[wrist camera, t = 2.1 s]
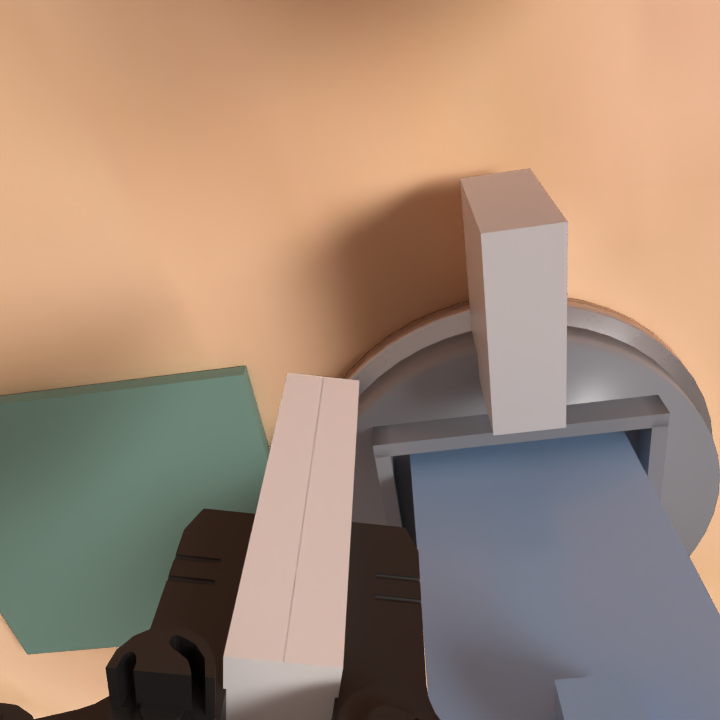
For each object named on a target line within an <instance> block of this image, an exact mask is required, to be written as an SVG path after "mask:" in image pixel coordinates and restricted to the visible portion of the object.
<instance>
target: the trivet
mask: <svg viewBox="0 0 720 720" xmlns="http://www.w3.org/2000/svg"><path fill="white" fill-rule="evenodd" d="M269 453H270V450H269V446H268V443H267V439H266V436H265V432H264V428H263V425H262V421H261V418H260V414H259V411H258V407H257V404H256V400H255V396H254V393H253V389H252V386H251V382H250V379H249V375H248V372H247V368H246V366H240V367H232V368H223V369H215V370H207V371H199V372H191V373H183V374H175V375H166V376H158V377H150V378H142V379H134V380H126V381H118V382H110V383H101V384H93V385H85V386H77V387H69V388H61V389H53V390H45V391H36V392H28V393H20V394H12V395H4V396H0V613H1V614H2V616H3V618H4V619H5V621H6V622H7V624H8V625H9V627H10V628H11V630H12V631H13V633H14V635H15V636H16V638H17V639H18V641H19V642H20V644H21V645H22V647H23V648H24V650H25V652H26V653H27V654H38V653H50V652H62V651H73V650H85V649H97V648H108V647H120V646H122V645H123V644H124V643H125V642H127V641H128V640H129V639H130V638H131V637H133V636H134V635H137V634H139V633H142V632H144V631H147V630H149V629H150V628H151V625H152V622H153V619H154V616H155V613H156V610H157V607H158V604H159V601H160V598H161V595H162V593H163V590H164V587H165V584H166V581H168V575H169V572H170V569H171V566H172V563H173V560H175V556H176V552H177V549H178V546H179V543H180V540H181V537H182V534H183V531H184V529H185V528H186V527H187V526H188V525H189V523H190V522H191V521H192V520H193V519H194V518H195V517H196V516H197V515H198V514H199V513H200V512H201V511H202V510H203V509H204V508H205V509H215V510H225V511H234V512H244V513H254V514H256V510H257V506H258V501H259V497H260V492H261V488H262V483H263V479H264V475H265V470H266V466H267V461H268V457H269Z"/></svg>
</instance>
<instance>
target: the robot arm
mask: <svg viewBox="0 0 720 720" xmlns="http://www.w3.org/2000/svg"><path fill="white" fill-rule="evenodd" d="M358 397H359V380H350V379H341V378H332V377H323V376H314V375H305V374H296V373H287V377H286V382H285V386H284V391H283V395H282V400H281V404H280V408H279V413H278V417H277V422H276V426H275V430H274V435H273V439H272V444H271V448H270V453H269V457H268V461H267V466H266V470H265V475H264V479H263V483H262V488H261V492H260V497H259V501H258V506H257V510H256V514H254V513H244V512H234V511H225V510H215V509H205V508H204V509H203V510H202V511H201V512H200V513H199V514H198V515H197V516H196V517H195V518H194V519H193V520H192V521H191V522H190V523H189V525H188V526H187V527H186V528H185V529H184V531H183V534H182V537H181V540H180V543H179V546H178V549H177V552H176V556H175V560H173V563H172V566H171V569H170V572H169V575H168V581H166V584H165V587H164V590H163V593H162V595H161V598H160V601H159V604H158V607H157V610H156V613H155V616H154V619H153V622H152V625H151V628H150V629H149V630H147V631H144V632H142V633H139V634H137V635H134V636H133V637H131V638H130V639H129V640H128V641H127V642H125V643H124V644H123V645H122V646H120V647H119V648H118V649H117V650H116V652H115V653H114V655H113V656H112V658H111V660H110V661H109V663H108V665H107V666H106V674H107V681H108V689H109V696H108V697H106V698H105V699H103V700H101V701H99V702H97V703H96V704H93V705H90V706H87V707H84V708H81V709H78V710H74V711H69V712H65V713H60V714H56V715H51V716H47V717H42V718H38V719H33V717H32V715H31V714H29V713H28V712H26V711H25V710H23V709H22V708H20V707H19V706H17V705H13V704H5V703H0V720H440V718H439V717H438V716H437V714H436V713H435V711H434V709H433V707H432V705H431V702H430V700H429V698H428V692H427V687H426V675H425V657H424V639H423V622H422V604H421V586H420V568H419V551H418V549H417V548H416V546H415V544H414V542H413V540H412V538H411V537H410V535H409V533H408V531H407V529H406V527H396V526H386V525H377V524H367V523H357V522H351V520H352V502H353V485H354V467H355V450H356V432H357V415H358Z"/></svg>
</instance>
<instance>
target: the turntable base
mask: <svg viewBox="0 0 720 720" xmlns="http://www.w3.org/2000/svg"><path fill="white" fill-rule="evenodd" d="M567 326H572V327H578V328H584V329H588V330H591V331H595V332H598V333H601V334H605V335H608V336H611V337H613V338H616V339H618V340H620V341H622V342H624V343H627V344H629V345H631V346H633V347H635V348H636V349H638V350H639V351H641V352H643V353H644V354H646V355H647V356H649V357H650V358H652V359H653V360H655V361H656V362H657V363H658V364H659V365H660V366H661V367H662V368H664V369H665V370H666V371H667V372H668V373H669V374H670V375H671V376H672V377H673V378H674V380H675V381H676V382H677V383H678V385H679V386H680V387H681V388H682V390H683V391H684V392H685V394H686V395H687V397H688V398H689V399H690V401H691V402H692V404H693V405H694V407H695V408H696V409H697V411H698V412H699V414H700V415H701V417H702V418H703V420H704V422H705V424H706V426H707V428H708V429H709V431H710V433H711V435H712V428H711V419H710V416H709V412H708V409H707V406H706V403H705V399H704V397H703V395H702V393H701V391H700V389H699V388H698V386H697V384H696V382H695V380H694V378H693V377H692V376H691V374H690V373H689V372H688V370H687V369H686V368H685V366H684V365H683V364H682V362H681V361H680V360H679V359H678V357H677V356H676V355H675V353H674V352H673V351H672V350H671V349H670V348H669V347H668V346H667V345H666V344H665V343H664V342H663V341H662V340H661V339H659V338H658V337H657V336H656V335H655V334H654V333H653V332H651V331H650V330H648V329H647V328H645V327H644V326H642V325H640V324H639V323H637V322H636V321H634V320H633V319H631V318H629V317H626V316H624V315H622V314H620V313H618V312H616V311H614V310H611V309H609V308H606V307H603V306H600V305H596V304H593V303H590V302H587V301H583V300H578V299H572V298H567ZM468 331H471V318H470V305H469V301H467V302H464V303H461V304H458V305H454V306H451V307H448V308H445V309H441V310H438V311H436V312H434V313H432V314H429V315H427V316H425V317H422V318H420V319H418V320H416V321H413V322H412V323H410V324H408V325H406V326H405V327H403V328H401V329H400V330H398V331H396V332H395V333H393V334H391V335H390V336H388V337H387V338H386V339H384V340H383V341H382V342H380V343H379V344H378V345H377V346H375V347H374V348H373V349H371V350H370V351H369V352H368V353H367V354H366V355H365V356H364V357H363V358H362V359H361V360H360V361H359V362H358V363H357V364H356V365H355V366H354V367H353V368H352V369H351V370H350V371H349V372H348V374H347V375H346V376H345V378H344V379H350V380H359V396H360V395H361V394H362V393H363V392H364V391H365V390H366V389H367V388H368V387H369V386H370V385H371V384H372V383H373V382H374V381H375V380H376V379H377V378H378V377H379V376H381V375H382V374H383V373H385V372H386V371H387V370H389V369H390V368H391V367H393V366H394V365H395V364H397V363H398V362H400V361H401V360H403V359H405V358H407V357H408V356H410V355H412V354H413V353H415V352H417V351H419V350H420V349H422V348H425V347H427V346H429V345H432V344H434V343H436V342H439V341H441V340H443V339H446V338H448V337H452V336H455V335H458V334H462V333H465V332H468ZM712 438H713V437H712Z"/></svg>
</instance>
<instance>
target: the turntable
mask: <svg viewBox="0 0 720 720" xmlns="http://www.w3.org/2000/svg"><path fill="white" fill-rule="evenodd" d="M460 186H461V199H462V212H463V226H464V239H465V252H466V265H467V278H468V292H469V305H470V318H471V331H468V332H465V333H462V334H458V335H455V336H452V337H448V338H446V339H443V340H441V341H439V342H436V343H434V344H432V345H429V346H427V347H425V348H422V349H420V350H419V351H417V352H415V353H413V354H412V355H410V356H408V357H407V358H405V359H403V360H401V361H400V362H398V363H397V364H395V365H394V366H393V367H391V368H390V369H389V370H387V371H386V372H385V373H383V374H382V375H381V376H379V377H378V378H377V379H376V380H375V381H374V382H373V383H372V384H371V385H370V386H369V387H368V388H367V389H366V390H365V391H364V392H363V393H362V394H361V395H360V396H359V397H358V415H357V432H356V450H355V467H354V485H353V502H352V520H351V522H357V523H367V524H377V525H386V526H396V527H406V529H407V531H408V533H409V535H410V537H411V538H412V540H413V542H414V544H415V546H416V548H417V541H416V528H415V515H414V502H413V489H412V476H411V463H410V454H416V453H425V452H434V451H443V450H453V449H462V448H471V447H480V446H489V445H499V444H508V443H517V442H526V441H536V440H545V439H554V438H563V437H572V436H582V435H591V434H600V433H609V432H619V431H624V432H625V434H626V436H627V438H628V440H629V442H630V444H631V446H632V447H633V449H634V451H635V453H636V455H637V457H638V459H639V461H640V463H641V465H642V467H643V469H644V470H645V472H646V474H647V476H648V478H649V480H650V482H651V484H652V486H653V488H654V490H655V492H656V494H657V495H658V497H659V499H660V501H661V503H662V505H663V507H664V509H665V511H666V513H667V515H668V517H669V518H670V520H671V522H672V524H673V526H674V528H675V530H676V532H677V534H678V536H679V538H680V540H681V542H682V543H683V545H684V547H685V549H686V551H687V553H688V555H689V556H690V555H691V553H692V552H693V551H694V550H695V548H696V547H697V545H698V543H699V542H700V540H701V539H702V537H703V535H704V534H705V532H706V530H707V528H708V525H709V523H710V521H711V519H712V516H713V514H714V510H715V507H716V503H717V499H718V495H719V482H720V469H719V461H718V454H717V451H716V447H715V444H714V441H713V438H712V435H711V433H710V431H709V429H708V428H707V426H706V424H705V422H704V420H703V418H702V417H701V415H700V414H699V412H698V411H697V409H696V408H695V407H694V405H693V404H692V402H691V401H690V399H689V398H688V397H687V395H686V394H685V392H684V391H683V390H682V388H681V387H680V386H679V385H678V383H677V382H676V381H675V380H674V378H673V377H672V376H671V375H670V374H669V373H668V372H667V371H666V370H665V369H664V368H662V367H661V366H660V365H659V364H658V363H657V362H656V361H655V360H653V359H652V358H650V357H649V356H647V355H646V354H644V353H643V352H641V351H639V350H638V349H636V348H635V347H633V346H631V345H629V344H627V343H624V342H622V341H620V340H618V339H616V338H613V337H611V336H608V335H605V334H601V333H598V332H595V331H591V330H588V329H584V328H578V327H572V326H567V249H568V221H567V220H566V219H565V217H564V216H563V214H562V213H561V212H560V210H559V209H558V207H557V206H556V205H555V203H554V202H553V200H552V199H551V197H550V196H549V195H548V193H547V192H546V190H545V189H544V188H543V186H542V185H541V183H540V182H539V181H538V179H537V178H536V176H535V175H534V174H533V172H532V171H531V169H530V168H529V169H522V170H515V171H508V172H501V173H494V174H488V175H481V176H474V177H467V178H460ZM422 622H423V620H422Z"/></svg>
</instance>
